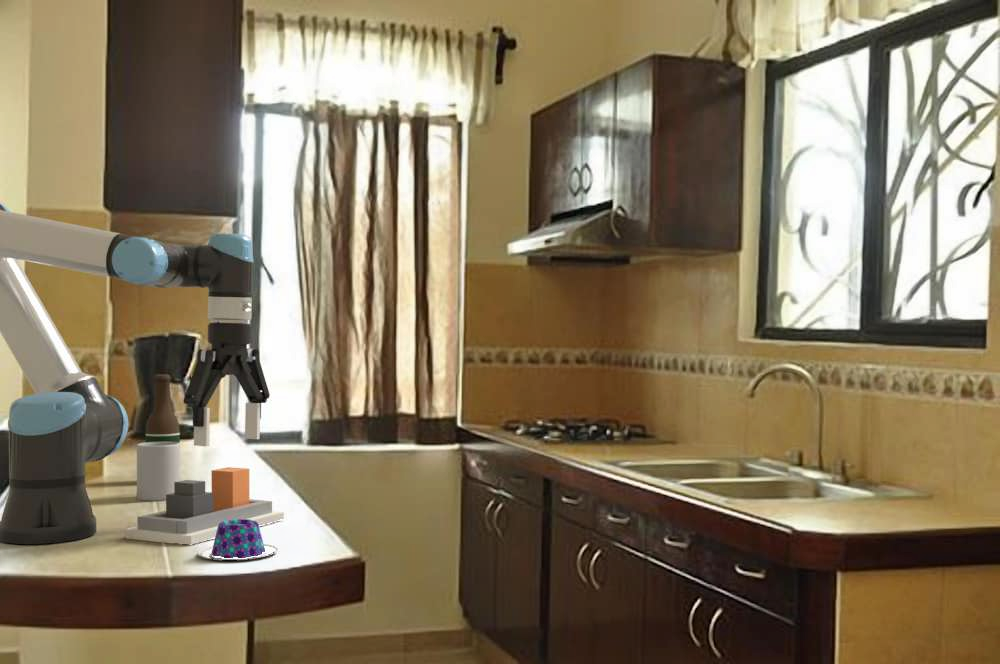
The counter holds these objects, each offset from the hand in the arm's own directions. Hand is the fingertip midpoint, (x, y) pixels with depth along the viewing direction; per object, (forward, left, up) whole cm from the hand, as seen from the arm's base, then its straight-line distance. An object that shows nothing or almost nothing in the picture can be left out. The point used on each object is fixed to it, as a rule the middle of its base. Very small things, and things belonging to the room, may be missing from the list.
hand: (227, 442), depth 191 cm
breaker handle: (-10, 0, -13) cm, 16 cm away
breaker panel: (-6, 0, -14) cm, 15 cm away
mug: (+18, +33, -15) cm, 40 cm away
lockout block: (0, -1, -13) cm, 13 cm away
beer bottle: (+34, +47, -15) cm, 60 cm away
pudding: (-20, -18, -15) cm, 31 cm away
